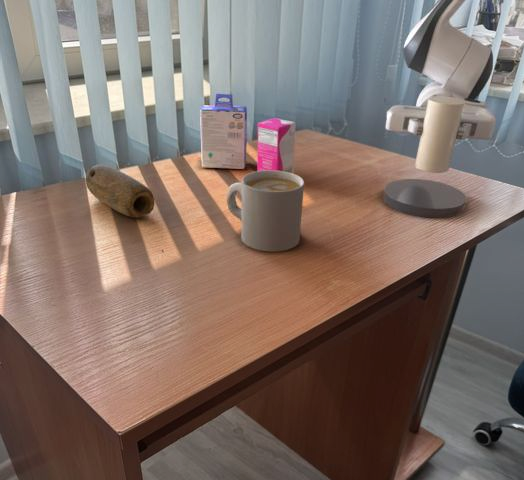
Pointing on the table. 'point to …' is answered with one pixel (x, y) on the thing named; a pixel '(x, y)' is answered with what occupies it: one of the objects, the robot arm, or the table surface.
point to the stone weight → (119, 191)
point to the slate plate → (424, 198)
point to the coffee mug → (269, 209)
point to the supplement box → (276, 145)
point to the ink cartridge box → (223, 134)
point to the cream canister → (439, 133)
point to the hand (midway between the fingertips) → (440, 132)
